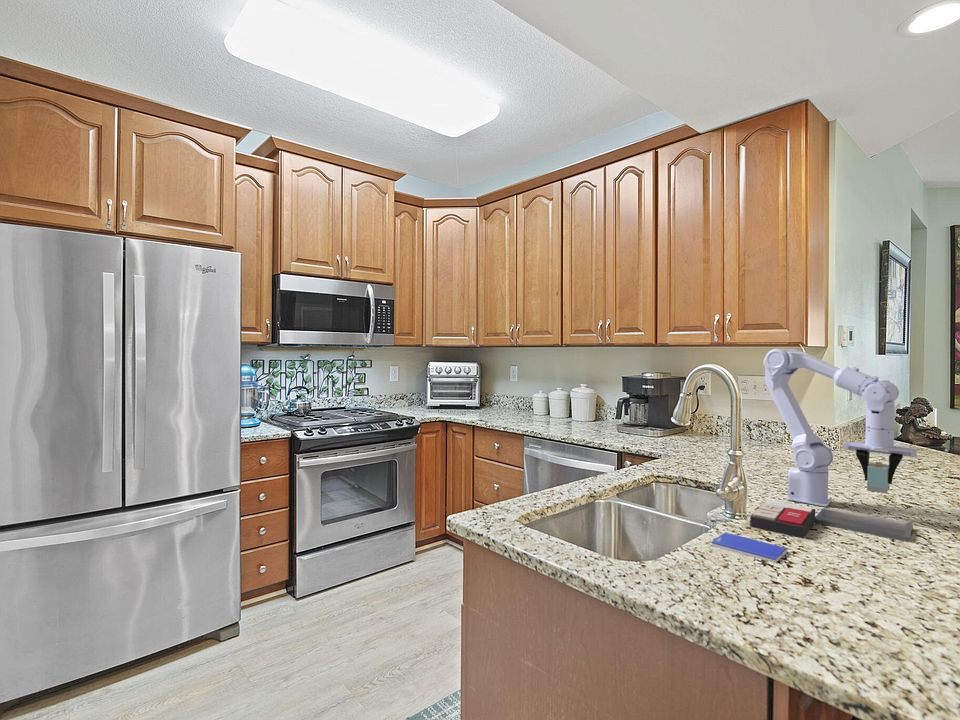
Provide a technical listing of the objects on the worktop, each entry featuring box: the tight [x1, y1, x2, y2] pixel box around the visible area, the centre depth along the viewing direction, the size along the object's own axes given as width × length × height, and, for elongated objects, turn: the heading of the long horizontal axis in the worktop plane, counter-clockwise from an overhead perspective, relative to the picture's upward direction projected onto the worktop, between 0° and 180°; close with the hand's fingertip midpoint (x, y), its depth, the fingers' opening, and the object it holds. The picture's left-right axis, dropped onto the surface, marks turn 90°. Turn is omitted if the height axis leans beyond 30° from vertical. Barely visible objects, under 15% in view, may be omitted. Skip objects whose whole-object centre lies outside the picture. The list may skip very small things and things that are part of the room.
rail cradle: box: [815, 506, 914, 543], centre depth 124 cm, size 18×12×2 cm, turn 47°
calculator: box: [749, 499, 816, 539], centre depth 124 cm, size 11×4×15 cm
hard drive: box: [711, 532, 788, 564], centre depth 108 cm, size 2×8×12 cm
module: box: [866, 461, 890, 494], centre depth 130 cm, size 4×6×7 cm, turn 137°
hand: (878, 481), depth 130 cm, fingers closed on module, 4 cm apart
